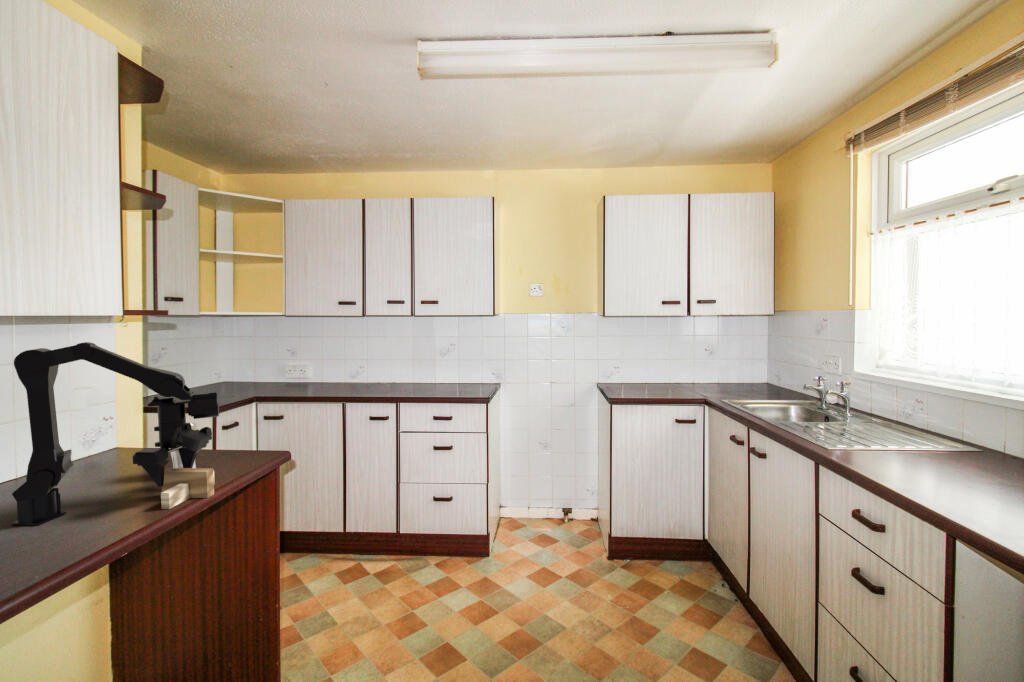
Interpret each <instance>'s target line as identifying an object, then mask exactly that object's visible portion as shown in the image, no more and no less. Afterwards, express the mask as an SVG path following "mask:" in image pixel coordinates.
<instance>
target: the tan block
mask: <svg viewBox="0 0 1024 682" xmlns="http://www.w3.org/2000/svg"><path fill="white" fill-rule="evenodd" d="M213 470H214V468H211V467H209V468H207V467H206V468H205V467H204V468H203V467H201V468H200V467H196V468H173V467H168V468H164V484H163V486H162V487H161V493H162V492H164V491H166V490H168V489H170V488H172V487H174V486H176V485H178V484H180V483H188V487H189V489H190V498H189V499H209V498H210V497H212V496H214V495H215V484H214V478H215V475H214V476H213Z"/></svg>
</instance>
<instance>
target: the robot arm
mask: <svg viewBox="0 0 1024 682" xmlns="http://www.w3.org/2000/svg"><path fill="white" fill-rule="evenodd" d="M81 360H82V361H83V360H84V361H86V362H89V363H91V364H94V365H96V366H99V367H101V368H105V369H107V370H110V371H112V372H114V373H117V374H120V375H122V376H124V377H128V378H130V379H132V380H135V381H138V382H139V383H141V384H142V385H144V386H145V387H147V388H148V389H149V390H151V391H153V392H154V393H156V394H158V395H160V396H162V398H161V397H160V396H158V395H155V396H154V397H153V399H152V400H151V401H149V403H148V404H147V407H149V408H150V407H157V422H158V425H157V426H155V427H154V432H158V441H157V442H155V443H154V447H155V448H153V447H152V448H151V447H147V448H144V449H142V450H139V451H135V453H134V454H133V455H132V457H131V458H132V464H133V465H137V466H138V467H142V469H144V470H145V471H146V473H147V474H148V475H149V477H150V478H151V479H152V480H153V482H154V484H156V486H157V487H158V488H162V486H163V484H164V470H165V467H166V466H167V464H168V463H169V462H170V460H169V459H168V458H169V454H171V453H170V452H173V451H176V450H178V451H179V454H180V457H181V461H182V464H183V468H192V467H193V464H194V461H195V462H196V458H197V456H198V453H199V452H200V451H201V450H202V449H203V448H204V449H205V448H206V447H207V445H208V444H209V443H210V441H212V440H213V431H212V428H211V427H209V426H205V427H204V426H203V427H202V428H200V429H197V430H193V429H192V428H191V424H190V423H191V422H187V421H186V404H187V414H188V416H190V417H193V420H195V419H196V420H197V419H207V418H208V419H209V418H217V417H220V407H219V401H218V391H210V392H202V393H201V392H200V393H195V392H194V391H193V390H192V389H190V388H189V387H188V386H187V385H186V380H185V378H184V376H183V375H182V374H180V373H178V372H174V371H170V370H166V369H160V368H157V367H156V368H155V367H152V366H148V365H144V364H142V363H140V362H137V361H135V360H133V359H130V358H127V357H125V356H122V355H121V354H118V353H116V352H112V351H110V350H108V349H105V348H103V347H100V346H98V345H97V344H95V343H93V342H89V341H85V342H80V343H76V344H74V345H70V346H67V347H60V348H57V349H49V348H46V347H45V348H42V347H41V348H40V347H39V348H34V349H28V350H24V351H21V352H20V353H19V354H18V355H16V356H15V357H14V360H13V366H14V368H15V373H16V374H17V376H18V379H19V381H20V382H21V384H22V385H23V387H24V388H25V391H26V398H27V406H28V407H27V408H28V416H29V425H30V437H31V446H32V451H31V454H30V455H31V456H30V459H29V461H28V465H27V472H26V480H25V482H24V483H22V484H21V485H20V486H19V487H18V488H17V489H16V490H14V491H13V492H12V494H11V495H12V497H13V499H14V500H15V502H16V509H17V510H16V513H17V515H16V516H17V520H15V521H11V522H10V523H11V525H12V526H40V525H42V524H44V523H47V522H49V521H51V520H53V519H55V518H59V517H60V516H62V515H65V514H67V510H62V504H61V501H62V500H61V493H59V491H60V490H59V487H57V486H58V485H59V483H60V482H61V481H62V480H63V479H64V478H65V477H66V476H67V475H68V474H69V472H70V469H71V468H72V467H73V466H74V465H75V464H74V463H73V462H72V449H67V450H64V449H63V448H62V446H61V445H60V439H59V430H58V420H57V418H58V417H57V409H56V399H55V390H54V386H55V382H56V379H57V377H58V372H59V366H60V365H64V364H67V363H72V362H76V361H81ZM164 397H165V398H164ZM175 398H176V399H177V400H176V399H175ZM178 399H179V400H178ZM169 448H171V449H169Z"/></svg>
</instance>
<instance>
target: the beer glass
mask: <svg viewBox="0 0 1024 682" xmlns="http://www.w3.org/2000/svg"><path fill="white" fill-rule="evenodd" d="M189 423H190V424H191V428H192V429H193V430H198V428H197V423H194V422H189ZM169 449H171V448H169ZM169 454H170V456H171V461H172V468H183V464H182V461H181V457H180V454H179V451H178V450H176V451H173V452H170V453H169ZM192 468H197V465H196V460H195V461H194V464H193V467H192Z"/></svg>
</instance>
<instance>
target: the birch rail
mask: <svg viewBox="0 0 1024 682" xmlns="http://www.w3.org/2000/svg"><path fill="white" fill-rule="evenodd" d="M213 476H214V485H216V482H215V480H216V479H215V470H214V469H213ZM189 499H191V498H190V489H189V487H188V483H180V484H178V485H176V486H174V487H172V488H170V489H168V490H166V491H164V492H162V491H161V493H160V500H161V501H160V503H161V510H170V509H173V508H174V507H175V506H178V505H180V504H181V503H183V502H185V501H187V500H189Z"/></svg>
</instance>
